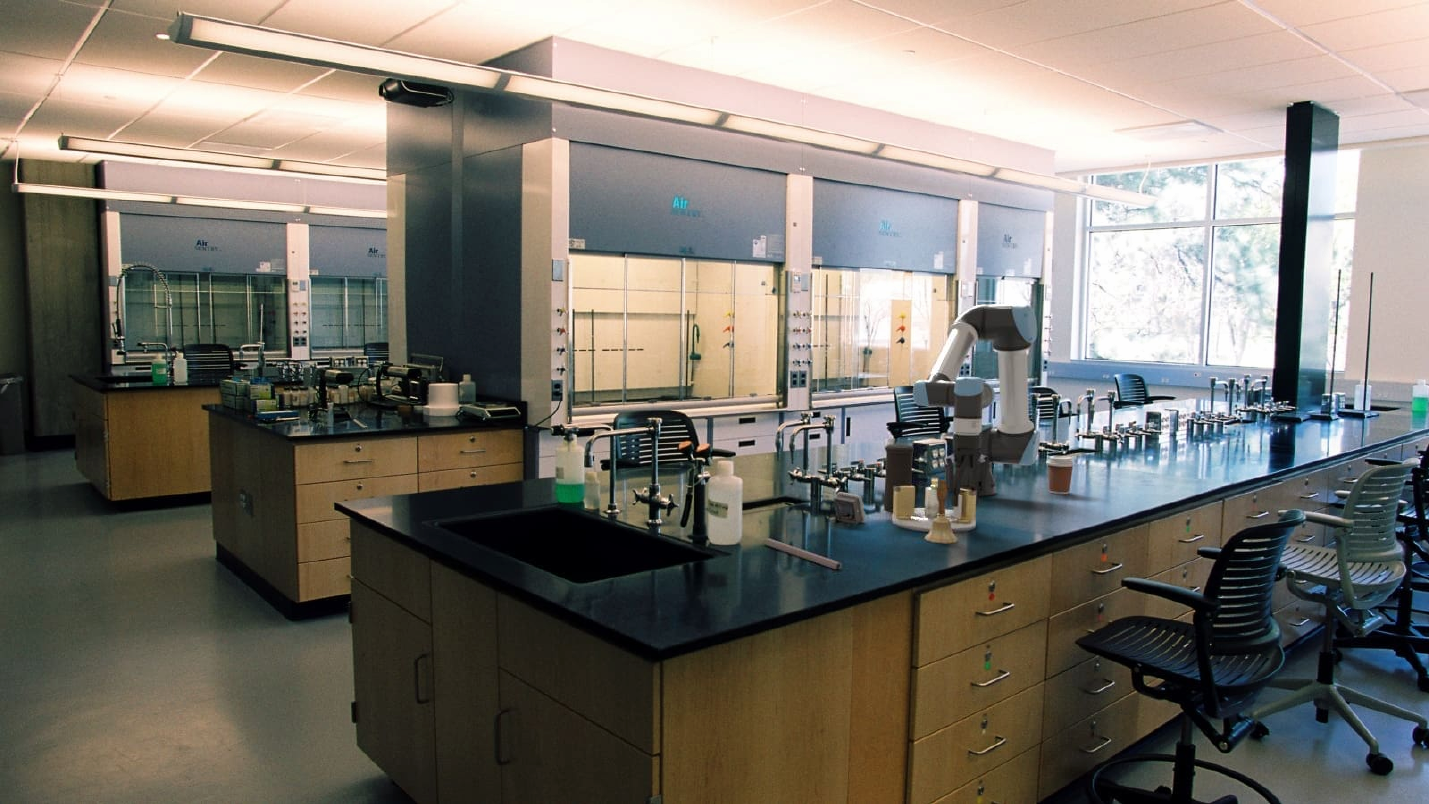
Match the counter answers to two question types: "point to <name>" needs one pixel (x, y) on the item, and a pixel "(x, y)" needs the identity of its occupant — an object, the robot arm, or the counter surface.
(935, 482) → the brass knob
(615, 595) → the counter surface
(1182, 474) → the counter surface
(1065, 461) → the coffee cup
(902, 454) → the container
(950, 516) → the levelling plate
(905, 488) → the tan upright block
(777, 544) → the grey tube
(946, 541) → the hand bell
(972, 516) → the tan upright block
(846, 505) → the electrical switch
